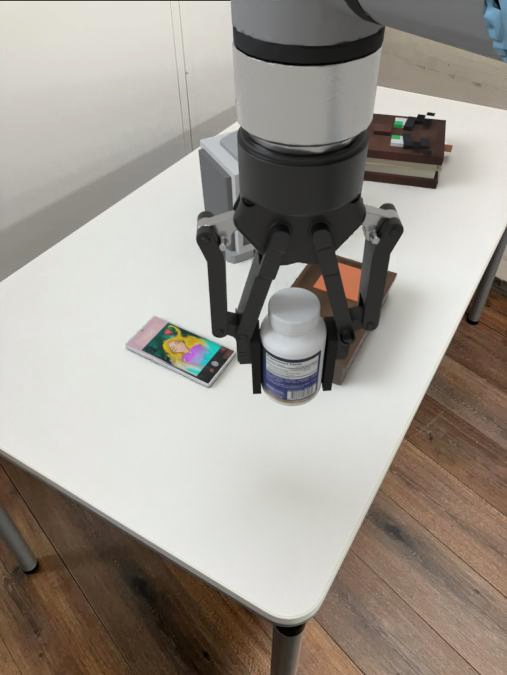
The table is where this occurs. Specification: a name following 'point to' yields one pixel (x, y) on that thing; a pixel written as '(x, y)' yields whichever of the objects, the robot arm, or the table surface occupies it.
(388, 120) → the decorative book
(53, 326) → the table surface
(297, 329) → the pill bottle
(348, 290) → the wooden box
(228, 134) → the alarm clock
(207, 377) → the smartphone
